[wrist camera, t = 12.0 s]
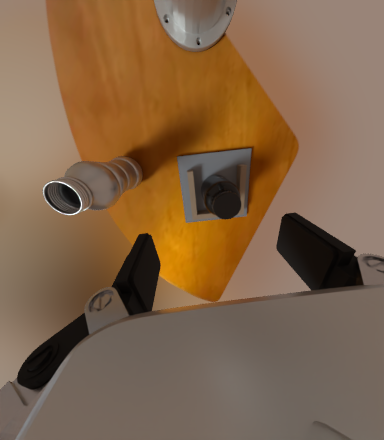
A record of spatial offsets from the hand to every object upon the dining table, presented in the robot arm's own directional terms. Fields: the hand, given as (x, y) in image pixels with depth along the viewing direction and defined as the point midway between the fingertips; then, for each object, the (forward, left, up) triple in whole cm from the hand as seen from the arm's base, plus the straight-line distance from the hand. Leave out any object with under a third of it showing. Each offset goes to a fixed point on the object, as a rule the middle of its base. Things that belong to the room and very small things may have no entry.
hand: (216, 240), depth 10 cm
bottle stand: (+3, +5, -26) cm, 26 cm away
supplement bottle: (+3, +4, -25) cm, 26 cm away
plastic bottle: (-3, -14, -26) cm, 30 cm away
